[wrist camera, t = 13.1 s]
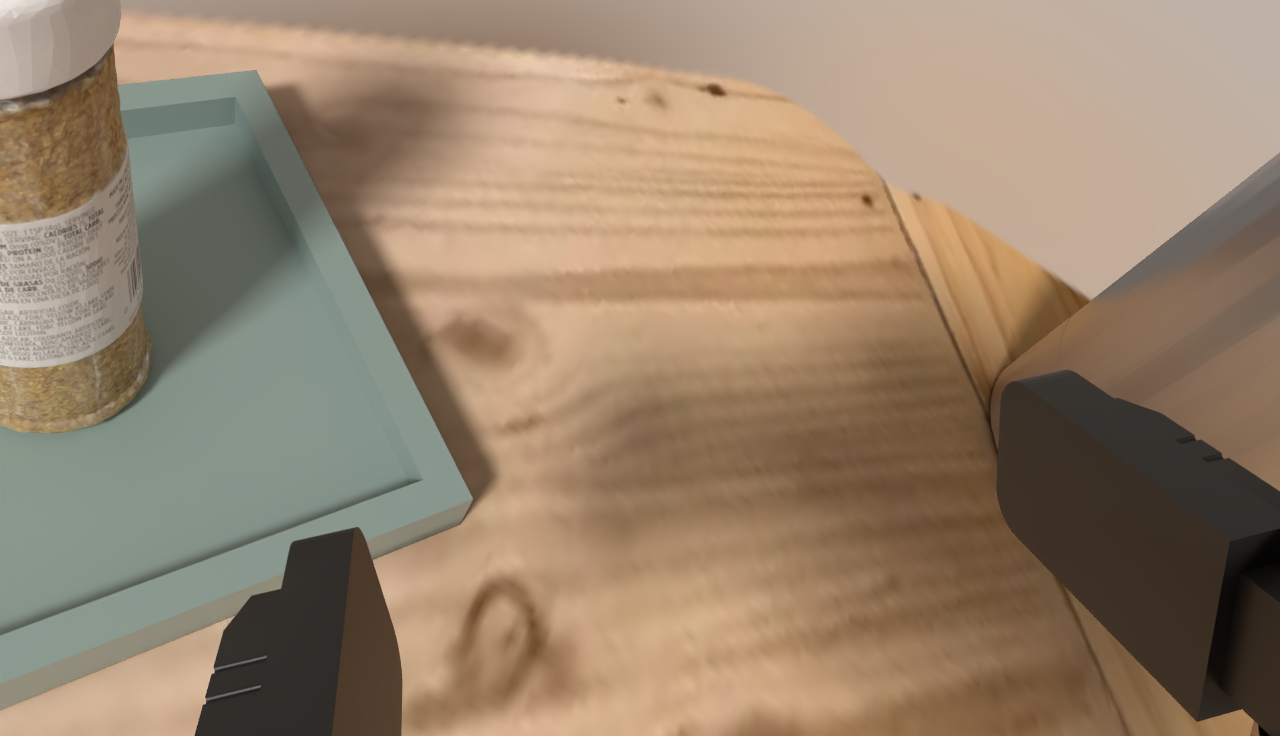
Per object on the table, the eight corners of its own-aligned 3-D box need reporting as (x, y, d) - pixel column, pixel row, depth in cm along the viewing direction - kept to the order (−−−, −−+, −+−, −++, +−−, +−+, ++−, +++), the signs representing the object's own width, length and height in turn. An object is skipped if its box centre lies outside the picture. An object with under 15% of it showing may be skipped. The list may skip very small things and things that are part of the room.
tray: (255, 110, 32) (256, 70, 30) (460, 524, 27) (473, 499, 25) (-407, 197, 23) (-447, 147, 22) (-286, 825, 18) (-328, 812, 17)
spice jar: (-21, 280, 25) (-195, -234, 15) (170, 304, 27) (138, -145, 16) (-75, 434, 23) (-331, -47, 12) (138, 451, 24) (75, 38, 14)
